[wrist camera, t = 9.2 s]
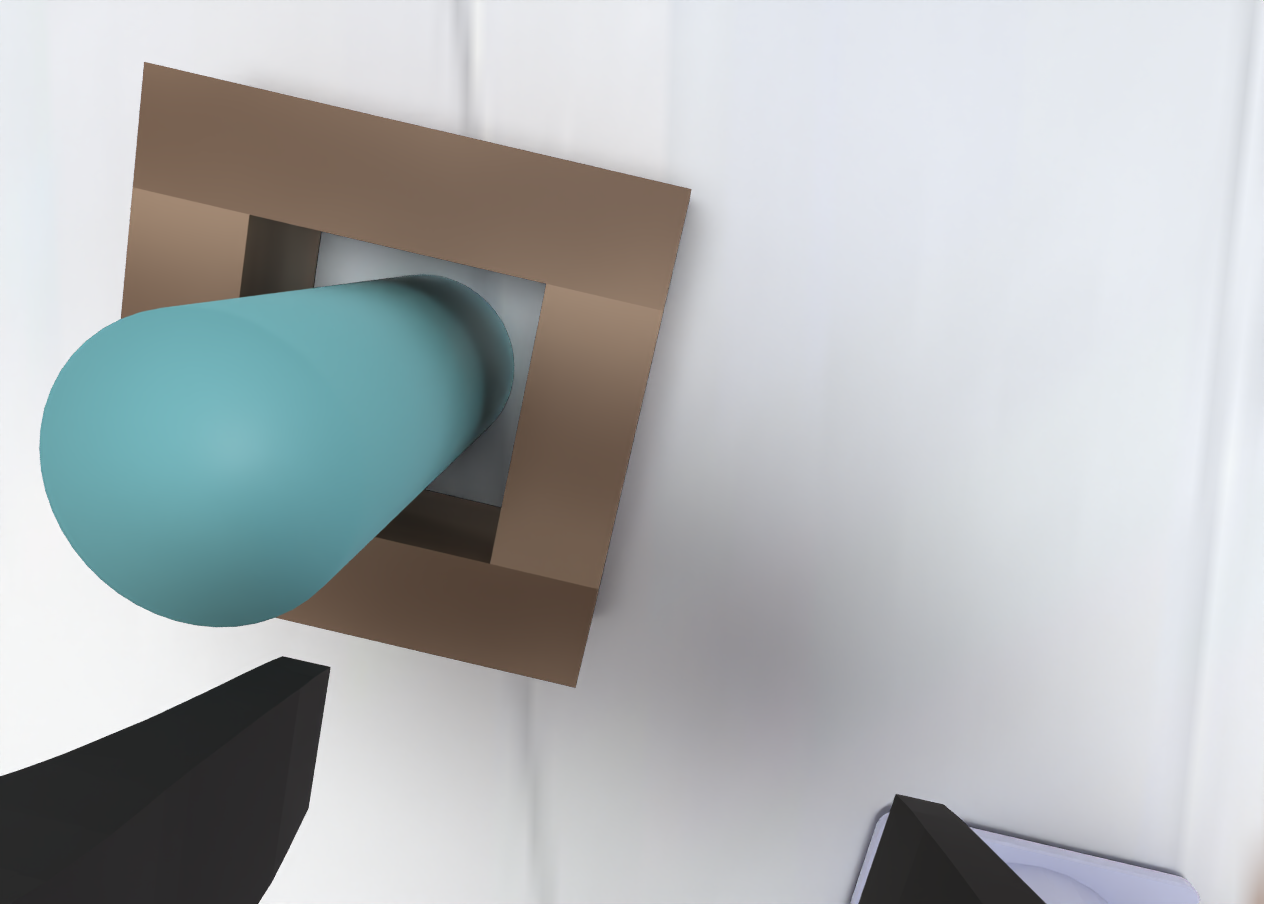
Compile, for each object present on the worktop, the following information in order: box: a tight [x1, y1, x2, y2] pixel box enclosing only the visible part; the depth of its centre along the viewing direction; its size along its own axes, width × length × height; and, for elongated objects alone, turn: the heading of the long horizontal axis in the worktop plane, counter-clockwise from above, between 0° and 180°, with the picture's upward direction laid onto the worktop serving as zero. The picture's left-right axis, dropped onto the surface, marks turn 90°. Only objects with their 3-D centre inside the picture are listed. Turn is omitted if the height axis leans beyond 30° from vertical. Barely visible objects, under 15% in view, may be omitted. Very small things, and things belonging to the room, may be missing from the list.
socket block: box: [121, 62, 691, 688], centre depth 19 cm, size 10×10×4 cm
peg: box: [39, 275, 514, 627], centre depth 16 cm, size 4×4×10 cm
